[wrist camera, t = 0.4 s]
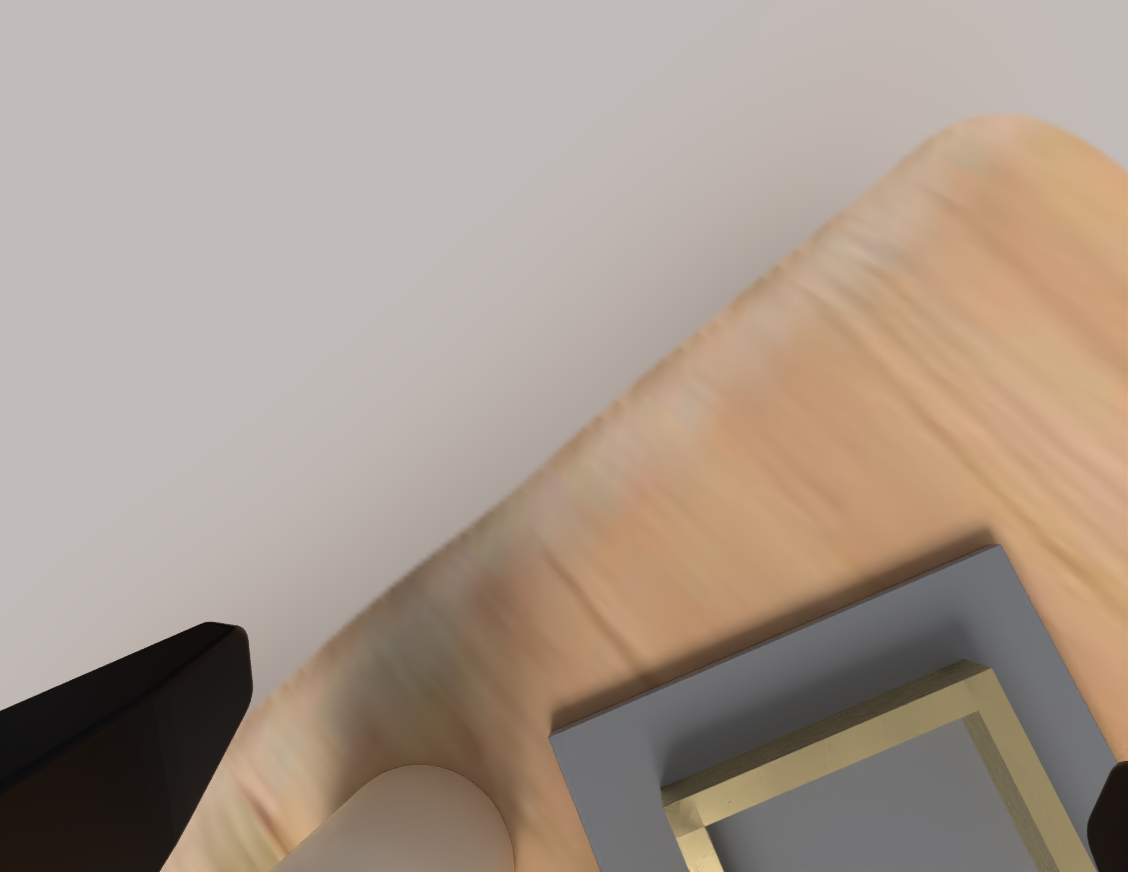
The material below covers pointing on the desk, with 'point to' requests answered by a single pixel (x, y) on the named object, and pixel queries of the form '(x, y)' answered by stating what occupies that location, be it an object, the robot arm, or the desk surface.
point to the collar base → (855, 745)
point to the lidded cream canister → (409, 828)
